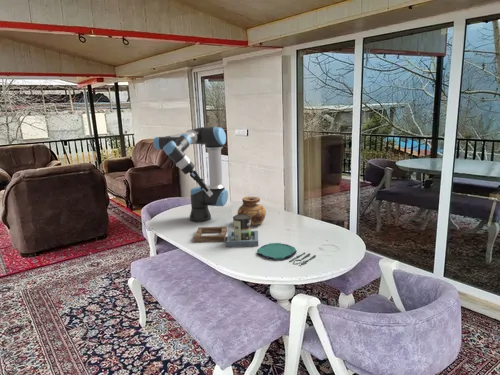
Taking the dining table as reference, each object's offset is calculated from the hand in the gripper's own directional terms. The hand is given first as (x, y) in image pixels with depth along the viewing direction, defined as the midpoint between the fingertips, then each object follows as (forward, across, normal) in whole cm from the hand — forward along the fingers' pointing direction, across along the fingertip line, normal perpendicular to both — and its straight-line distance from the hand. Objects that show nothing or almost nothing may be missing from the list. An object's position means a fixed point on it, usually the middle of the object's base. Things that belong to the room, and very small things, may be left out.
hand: (209, 192), depth 213 cm
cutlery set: (+45, +32, +9) cm, 56 cm away
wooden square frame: (+24, -9, -17) cm, 31 cm away
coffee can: (+33, +5, -4) cm, 34 cm away
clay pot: (+41, -25, +7) cm, 49 cm away
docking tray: (+34, +5, -4) cm, 35 cm away
